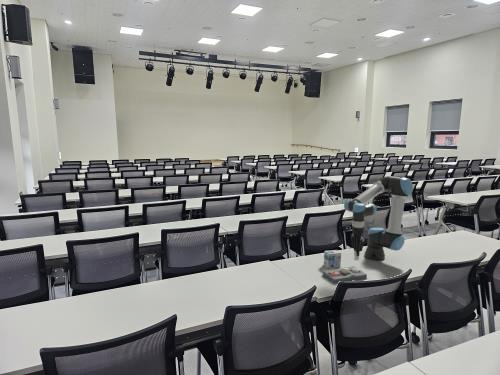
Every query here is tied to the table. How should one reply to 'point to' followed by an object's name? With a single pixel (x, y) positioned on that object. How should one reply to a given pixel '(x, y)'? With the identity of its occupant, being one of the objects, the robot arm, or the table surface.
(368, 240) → the robot arm
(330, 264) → the light bulb box
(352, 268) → the button one
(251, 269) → the table surface
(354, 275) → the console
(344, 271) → the button two
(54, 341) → the table surface
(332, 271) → the button three
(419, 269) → the table surface
